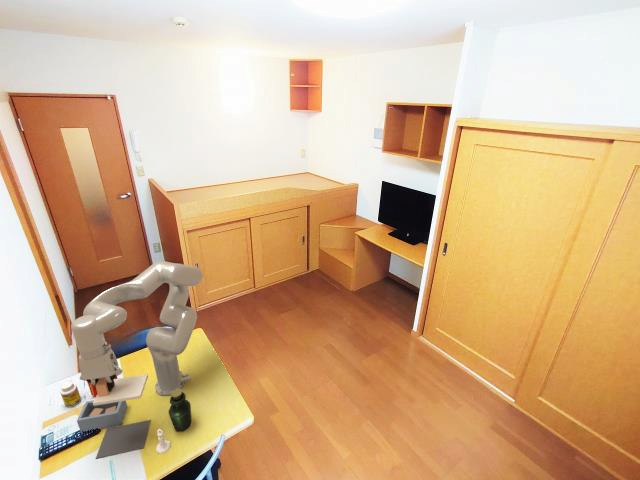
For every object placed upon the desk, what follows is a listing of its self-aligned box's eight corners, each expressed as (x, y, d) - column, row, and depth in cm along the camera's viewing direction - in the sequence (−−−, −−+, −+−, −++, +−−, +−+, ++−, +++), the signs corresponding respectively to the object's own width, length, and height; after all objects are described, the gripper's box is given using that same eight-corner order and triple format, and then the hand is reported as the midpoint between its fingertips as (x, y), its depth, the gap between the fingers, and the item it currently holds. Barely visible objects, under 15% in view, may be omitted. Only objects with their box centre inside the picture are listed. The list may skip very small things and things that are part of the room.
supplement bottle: (64, 410, 132) (57, 392, 129) (65, 400, 137) (59, 383, 133) (81, 404, 135) (74, 386, 131) (81, 394, 140) (75, 377, 136)
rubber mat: (150, 420, 129) (150, 419, 129) (144, 448, 119) (143, 447, 119) (106, 429, 125) (106, 428, 125) (95, 459, 115) (95, 458, 114)
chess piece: (159, 441, 121) (154, 423, 117) (172, 440, 122) (168, 422, 118) (154, 454, 117) (149, 436, 113) (167, 453, 117) (163, 435, 113)
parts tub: (127, 406, 135) (124, 394, 132) (121, 425, 127) (117, 413, 124) (90, 413, 131) (85, 401, 129) (81, 433, 123) (76, 421, 121)
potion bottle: (183, 413, 133) (177, 381, 126) (197, 421, 130) (192, 388, 123) (167, 429, 126) (160, 396, 119) (182, 437, 123) (175, 404, 116)
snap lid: (148, 376, 121) (145, 364, 119) (140, 398, 112) (137, 385, 110) (104, 383, 118) (100, 370, 115) (93, 405, 109) (88, 392, 106)
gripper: (123, 338, 111) (134, 377, 118) (71, 345, 108) (84, 385, 115) (116, 353, 105) (127, 393, 112) (59, 361, 101) (75, 402, 108)
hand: (105, 389), depth 113 cm, fingers closed on snap lid, 3 cm apart
